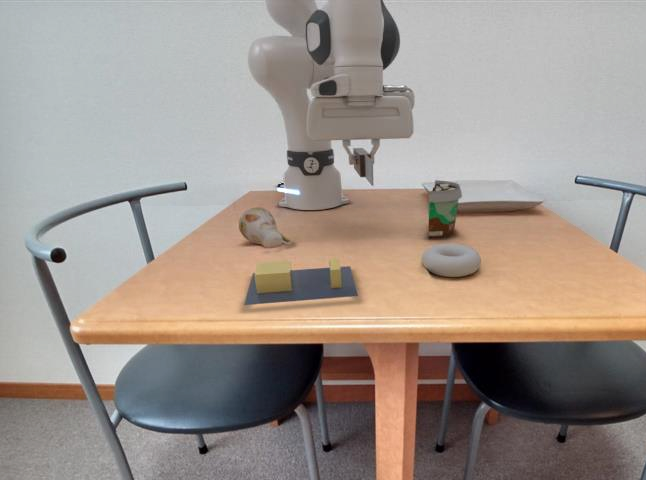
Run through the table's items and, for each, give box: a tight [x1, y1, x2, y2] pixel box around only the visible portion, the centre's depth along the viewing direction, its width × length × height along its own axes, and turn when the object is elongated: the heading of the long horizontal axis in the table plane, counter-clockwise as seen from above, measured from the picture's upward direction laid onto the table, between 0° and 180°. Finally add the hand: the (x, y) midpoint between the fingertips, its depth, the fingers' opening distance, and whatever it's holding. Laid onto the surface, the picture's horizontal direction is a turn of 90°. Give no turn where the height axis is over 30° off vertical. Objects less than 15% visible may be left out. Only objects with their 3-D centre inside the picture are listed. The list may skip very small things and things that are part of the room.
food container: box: [427, 179, 462, 240], centre depth 90 cm, size 12×6×10 cm, turn 168°
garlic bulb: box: [238, 206, 293, 249], centre depth 85 cm, size 8×10×10 cm
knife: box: [352, 147, 375, 187], centre depth 81 cm, size 21×2×4 cm, turn 9°
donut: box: [421, 243, 482, 278], centre depth 73 cm, size 10×4×10 cm
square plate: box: [421, 179, 546, 214], centre depth 116 cm, size 27×27×4 cm
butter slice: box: [328, 257, 341, 288], centre depth 66 cm, size 5×2×3 cm, turn 8°
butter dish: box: [243, 259, 359, 306], centre depth 66 cm, size 12×16×4 cm
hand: (361, 164), depth 85 cm, fingers closed on knife, 2 cm apart
